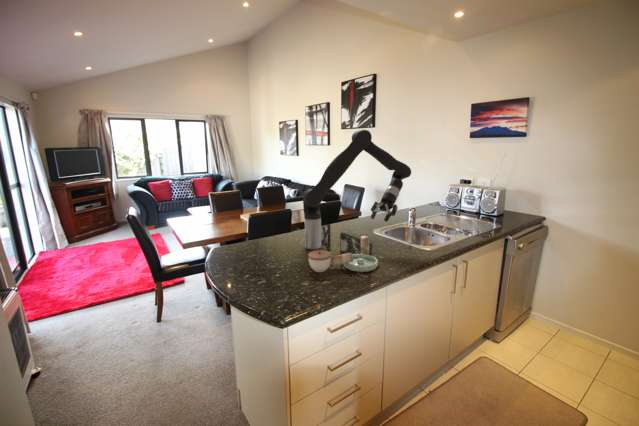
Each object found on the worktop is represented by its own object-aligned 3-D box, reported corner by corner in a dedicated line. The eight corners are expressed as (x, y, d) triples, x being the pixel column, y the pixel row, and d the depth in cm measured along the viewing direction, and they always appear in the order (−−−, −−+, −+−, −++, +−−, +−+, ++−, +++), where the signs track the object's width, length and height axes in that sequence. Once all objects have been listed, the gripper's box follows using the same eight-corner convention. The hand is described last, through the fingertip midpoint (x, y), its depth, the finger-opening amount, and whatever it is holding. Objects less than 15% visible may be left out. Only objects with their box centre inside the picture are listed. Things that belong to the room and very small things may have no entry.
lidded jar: (323, 276, 136) (323, 256, 133) (304, 271, 141) (303, 252, 139) (335, 267, 144) (335, 249, 142) (316, 263, 150) (316, 245, 148)
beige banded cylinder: (351, 259, 146) (331, 264, 145) (350, 250, 145) (329, 255, 144) (353, 262, 141) (333, 268, 141) (351, 254, 140) (331, 259, 140)
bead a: (361, 257, 157) (361, 238, 155) (359, 254, 161) (360, 236, 159) (370, 256, 157) (370, 238, 155) (367, 253, 162) (368, 235, 159)
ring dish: (347, 272, 139) (347, 266, 138) (341, 259, 154) (341, 254, 154) (381, 270, 140) (381, 264, 139) (372, 257, 156) (372, 252, 155)
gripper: (377, 190, 171) (364, 214, 166) (399, 192, 161) (387, 217, 156) (382, 198, 176) (370, 221, 171) (404, 201, 166) (392, 225, 161)
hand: (378, 219), depth 163 cm, fingers open, 8 cm apart
